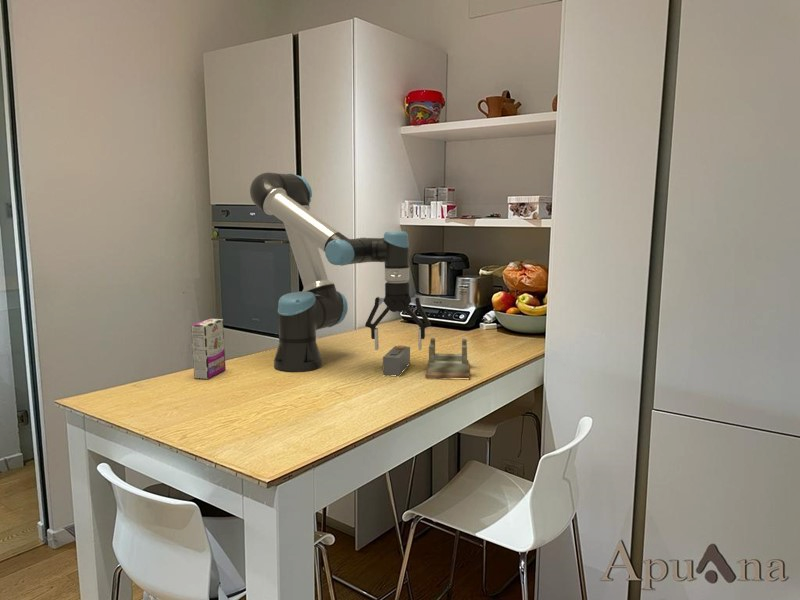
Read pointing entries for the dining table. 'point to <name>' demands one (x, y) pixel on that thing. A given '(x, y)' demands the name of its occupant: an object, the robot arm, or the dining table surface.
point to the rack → (447, 363)
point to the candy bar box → (208, 348)
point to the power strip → (396, 360)
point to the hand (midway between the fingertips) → (398, 349)
